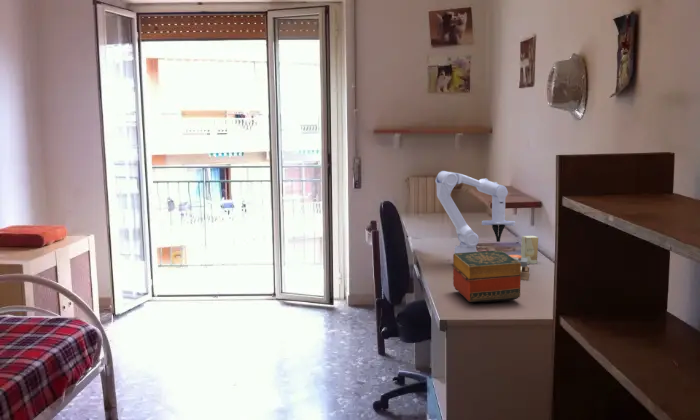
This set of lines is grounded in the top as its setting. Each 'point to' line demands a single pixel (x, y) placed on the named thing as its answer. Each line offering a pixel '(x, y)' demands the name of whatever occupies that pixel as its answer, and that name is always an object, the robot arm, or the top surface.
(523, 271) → the wooden tray
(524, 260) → the cabinet
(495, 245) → the top surface
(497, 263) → the decorative box
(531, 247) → the skincare box
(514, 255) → the button
